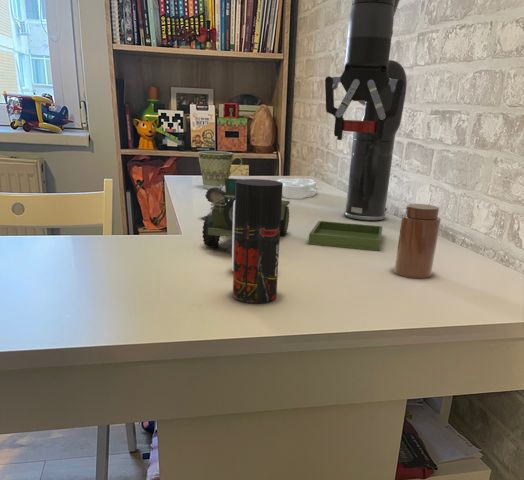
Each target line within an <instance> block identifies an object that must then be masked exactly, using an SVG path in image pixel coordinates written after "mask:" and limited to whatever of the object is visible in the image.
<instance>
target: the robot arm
mask: <svg viewBox="0 0 524 480" xmlns="http://www.w3.org/2000/svg"><path fill="white" fill-rule="evenodd" d="M399 3H400V0H351V7H350V13H349V18H348V25H347V36H346V45H345V55H344V64H343V65H344V67H343V68H344V69H343V71H342V73H341V74H340V76H330V75H329V76H326V77H325V79H324V81H325V82H324V88H325V111H326V113H327V114H330V115H332V116H333V117H334V119H335V120H334V127H333V128H334V129H333V135H334V137H336V140H337V141H342V140H343V132H344V131H342V125H343V120H345V117H344V115H345V113H346V111H347V109H348V108H349V106H350V104H351V103H352V101H353V102H358V103H359V104H360V105H362V106H364V111H363V112H364V113H363V116H362V119H361V120H362V121H376V122H377V123H376V131H375V133H367V132H353V136H352V138H353V139H352V147H351V157H350V165H349V166H350V167H349V177H348V184H347V195H346V196H347V197H346V202H345V203H346V205H345V210H344V216H345V217H347V218H350V219H353V220H360V221H383V220H384V219H385V218H386V212H387V200H388V193H389V186H390V178H391V171H392V163H393V156H394V155H393V154H394V147H395V139H396V134H397V132H398V131H399V128H400V127H401V123H402V118H403V111H404V105H405V101H406V94H407V86H408V85H407V84H408V83H407V81H408V80H407V74H406V71H405V69H404V67H403V66H402V64H401V63H399V61H395V60H392V59H390V54H391V45H392V37H393V34H394V29H393V28H394V18H395V14H396V12H397V10H398V6H399ZM339 84H341V86H342V87H343V89H344V91H345V95H344V97H343V99H342V100H341V103H340V104H339V106H338V107H335V90H337V89H338V86H339Z"/></svg>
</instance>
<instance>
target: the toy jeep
mask: <svg viewBox="0 0 524 480" xmlns="http://www.w3.org/2000/svg"><path fill="white" fill-rule="evenodd" d="M224 179H225V191H226V195H224V197H223V198H221V199H220V200H218V201H216V202H214V203H210V206H211V207H210V210H211V211H212V215H207V214H206V215H205V216H206V218H205V219H204V221H203V225H202V242H203V244H204V245H205V246H207V247H211V248H214V247H218V245H219V242H220V240H221V239H220V238H221V237H227V238H232V233H233V204H234V201H235V181H237V180H242V178H231V177H229V178H224ZM223 199H225V201H222V202H220V203H218V204H216V203H217V202H219V201H221V200H223ZM223 202H224V203H223ZM290 203H291V200H285V199H284V200H283V199H282V205H281V222H280V235H287V232H288V229H289V222H290V209H289V206H288V205H290Z"/></svg>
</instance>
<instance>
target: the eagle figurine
mask: <svg viewBox="0 0 524 480" xmlns="http://www.w3.org/2000/svg"><path fill="white" fill-rule="evenodd" d="M224 195H226V192H224V191H223V190H220V189H219V188H217V187H216V188H215V187H214V188H211V189H207V190H206V192H205V195H204V197H205V199H206V200H207V202H209V203H210V204H212V203H214V202H216V201H218V200H220V199H221V198H223V197H224ZM222 201H225V199H223V200H221V201H219V202H217V203H216V204H218V203H220V202H222ZM223 203H224V202H223ZM207 215H212V210H210V211H209V212H208V213H207V214H206V215H205V216H203V217H200V218H201V220H205V218H206V216H207Z"/></svg>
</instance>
